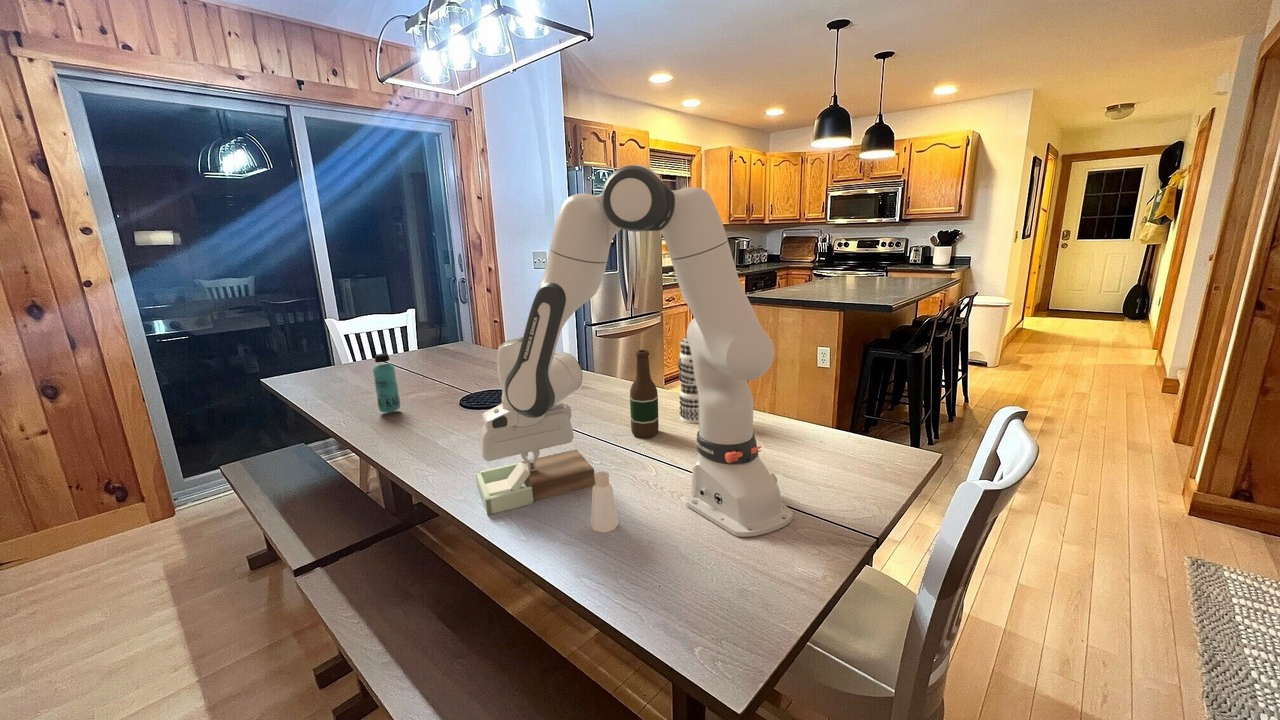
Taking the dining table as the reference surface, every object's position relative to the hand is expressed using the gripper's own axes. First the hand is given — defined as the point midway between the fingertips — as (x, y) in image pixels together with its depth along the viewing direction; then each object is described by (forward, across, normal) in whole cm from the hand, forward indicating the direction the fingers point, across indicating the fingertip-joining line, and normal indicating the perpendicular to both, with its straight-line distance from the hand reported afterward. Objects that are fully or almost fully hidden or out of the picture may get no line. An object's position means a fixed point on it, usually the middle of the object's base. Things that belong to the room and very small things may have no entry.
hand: (531, 468), depth 114 cm
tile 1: (+2, +8, 0) cm, 8 cm away
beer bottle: (+5, -35, -16) cm, 39 cm away
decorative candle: (+6, -53, -19) cm, 57 cm away
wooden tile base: (+5, -6, 0) cm, 7 cm away
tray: (+4, +7, 0) cm, 8 cm away
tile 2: (+2, +3, 0) cm, 3 cm away
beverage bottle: (+3, +31, -72) cm, 78 cm away
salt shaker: (+5, -9, +22) cm, 24 cm away
